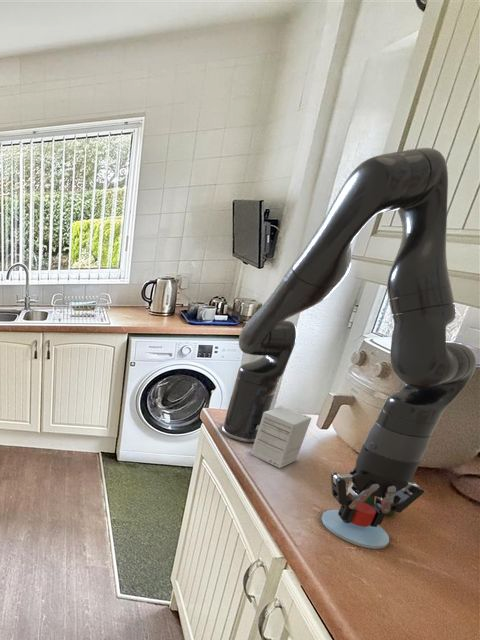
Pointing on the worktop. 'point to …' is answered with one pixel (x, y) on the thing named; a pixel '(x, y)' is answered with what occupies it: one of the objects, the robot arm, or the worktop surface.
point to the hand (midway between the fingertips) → (357, 521)
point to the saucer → (355, 531)
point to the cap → (363, 515)
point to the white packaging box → (280, 436)
